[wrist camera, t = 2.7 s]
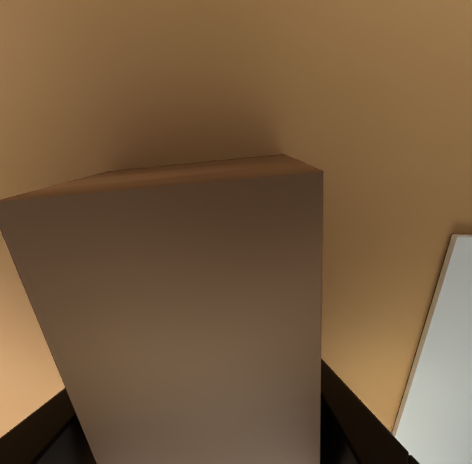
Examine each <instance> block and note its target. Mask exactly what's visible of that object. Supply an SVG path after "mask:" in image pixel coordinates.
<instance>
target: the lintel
mask: <svg viewBox="0 0 472 464" xmlns="http://www.w3.org/2000/svg"><path fill="white" fill-rule="evenodd" d="M322 226H323V171H321V170H319V169H317V168H314V167H312V166H310V165H307V164H305V163H303V162H300V161H298V160H296V159H294V158H291V157H289V156H287V155H284V154H281V155H270V156H260V157H250V158H240V159H230V160H220V161H209V162H199V163H189V164H179V165H169V166H159V167H148V168H138V169H128V170H118V171H108V172H105V173H101V174H97V175H93V176H89V177H86V178H82V179H78V180H74V181H70V182H66V183H63V184H59V185H55V186H51V187H47V188H44V189H40V190H36V191H32V192H28V193H25V194H21V195H17V196H13V197H9V198H5V199H2V200H0V230H1V232H2V235H3V237H4V240H5V242H6V245H7V247H8V249H9V252H10V254H11V257H12V259H13V262H14V264H15V266H16V269H17V271H18V274H19V276H20V279H21V281H22V283H23V286H24V288H25V291H26V293H27V296H28V298H29V300H30V303H31V305H32V308H33V310H34V313H35V315H36V317H37V320H38V322H39V325H40V327H41V330H42V332H43V334H44V337H45V339H46V342H47V344H48V347H49V349H50V351H51V354H52V356H53V359H54V361H55V364H56V366H57V368H58V371H59V373H60V376H61V378H62V381H63V383H64V385H65V388H66V390H67V393H68V395H69V398H70V400H71V402H72V405H73V407H74V410H75V412H76V415H77V417H78V419H79V422H80V424H81V427H82V429H83V432H84V434H85V436H86V439H87V441H88V444H89V446H90V449H91V451H92V453H93V456H94V458H95V461H96V463H97V464H320V406H321V316H322Z"/></svg>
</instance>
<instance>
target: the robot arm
mask: <svg viewBox="0 0 472 464" xmlns="http://www.w3.org/2000/svg"><path fill="white" fill-rule="evenodd" d="M0 464H97V463H96V461H95V458H94V456H93V453H92V451H91V449H90V446H89V444H88V441H87V439H86V436H85V434H84V432H83V429H82V427H81V424H80V422H79V419H78V417H77V415H76V412H75V410H74V407H73V405H72V402H71V400H70V398H69V395H68V393H67V390H66V388H64V389H63V390H62V391H61V392H59V393H58V394H57V395H55V396H54V397H53V398H51V399H50V400H49V401H48V402H46V403H45V404H44V405H42V406H41V407H40V408H39V409H37V410H36V411H35V412H33V413H32V414H31V415H30V416H28V417H27V418H26V419H24V420H23V421H22V422H20V423H19V424H18V425H17V426H15V427H14V428H13V429H11V430H10V431H9V432H8V433H6V434H5V435H4V436H2V437H1V438H0ZM320 464H420V463H419V462H418V461H417V460H416V459H415V458H414V457H413V456H412V455H409V452H408V451H407V450H406V449H405V447H404V446H403V445H402V444H401V443H400V442H399V441H398V440H397V439H396V438H395V437H394V436H393V435H392V434H391V432H390V431H389V430H388V429H387V428H386V427H385V426H384V425H383V424H382V423H381V422H380V421H379V420H378V419H377V417H376V416H375V415H374V414H373V413H372V412H371V411H370V410H369V409H368V408H367V407H366V406H365V405H364V404H363V402H362V401H361V400H360V399H359V398H358V397H357V396H356V395H355V394H354V393H353V392H352V391H351V390H350V389H349V387H348V386H347V385H346V384H345V383H344V382H343V381H342V380H341V379H340V378H339V377H338V376H337V375H336V374H335V372H334V371H333V370H332V369H331V368H330V367H329V366H328V365H327V364H326V363H325V362H324V361H323V360H322V359H321V406H320Z"/></svg>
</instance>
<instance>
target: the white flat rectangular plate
mask: <svg viewBox="0 0 472 464" xmlns="http://www.w3.org/2000/svg"><path fill="white" fill-rule="evenodd" d="M392 435H393V436H394V437H395V438H396V439H397V440H398V441H399V442H400V443H401V444H402V445H403V446H404V447H405V449H406V450H407V451H408V452H409V455H412V456H413V457H414V458H415V459H416V460H417V461H418V462H419V463H420V464H472V235H458V234H452V237H451V240H450V244H449V247H448V250H447V254H446V257H445V260H444V264H443V267H442V270H441V273H440V277H439V280H438V283H437V287H436V290H435V293H434V297H433V300H432V303H431V307H430V310H429V313H428V316H427V320H426V323H425V326H424V330H423V333H422V336H421V340H420V343H419V346H418V349H417V353H416V356H415V359H414V363H413V366H412V369H411V373H410V376H409V379H408V382H407V386H406V389H405V392H404V396H403V399H402V402H401V406H400V409H399V412H398V415H397V419H396V422H395V425H394V429H393V432H392Z"/></svg>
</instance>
